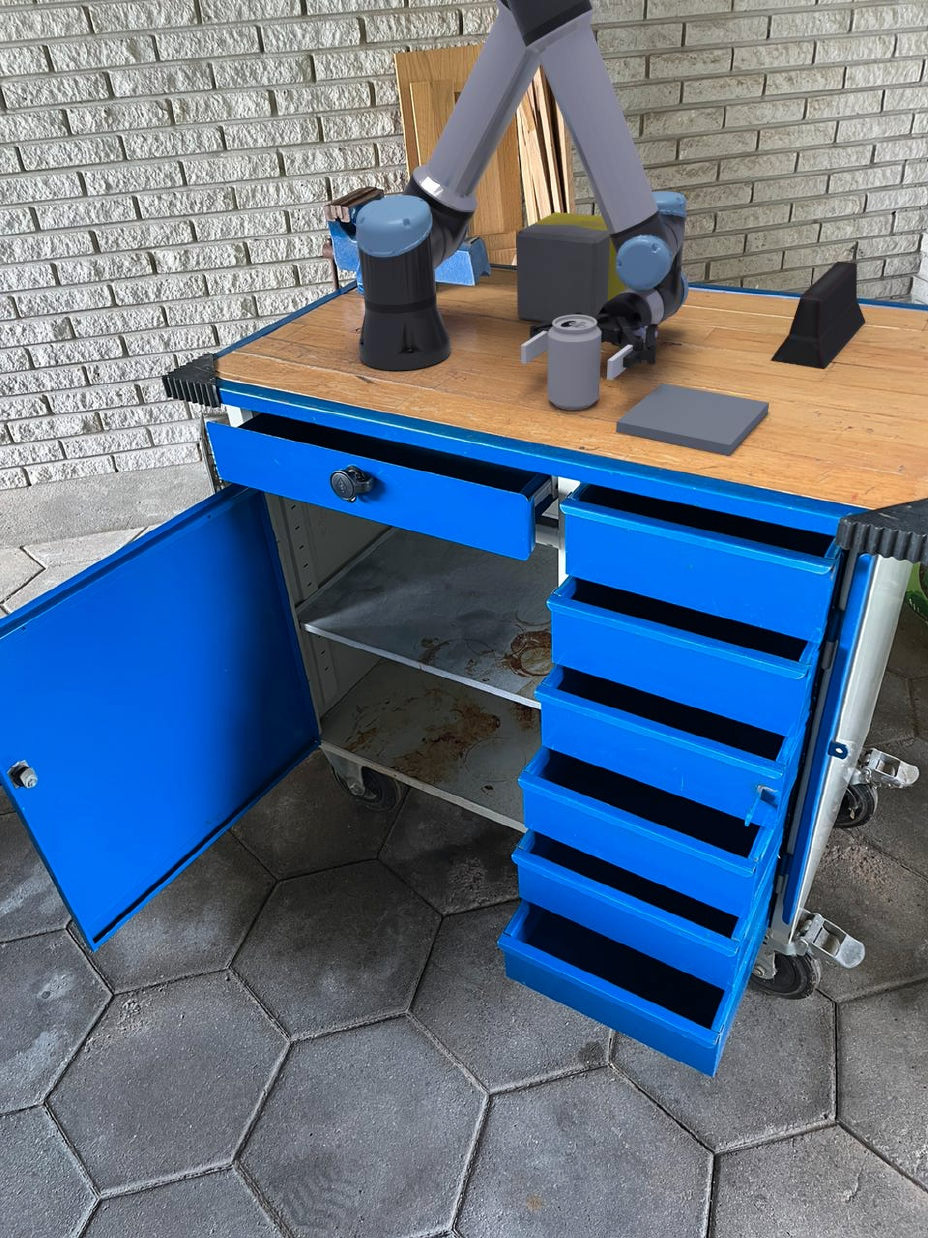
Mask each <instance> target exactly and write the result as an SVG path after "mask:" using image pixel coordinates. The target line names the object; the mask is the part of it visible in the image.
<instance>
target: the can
mask: <svg viewBox="0 0 928 1238" xmlns="http://www.w3.org/2000/svg"><path fill="white" fill-rule="evenodd" d="M552 325H553V327H552V328H551V329H550V330H549V331H548V350H547V398H548V401H550V402H551V403H552V404H553V405H554V406H555V407H556V408H558V409H562V410H566V411H567V410H568V411H576V410H577V411H578V410H584V409H588V408H590V407H591V406H593V404H594V403H595V402H597V401H598V400H599V399H600V389H601V386H600V385H601V384H600V383H601V357H602V356H601V355H602V351H601V350H602V342H601V330H600V329H599V328H598V327H597V326H596V325H597V321H596V319H594V318H593V317H590V316H586V315H566V316H561V317H558V318H556V319H555V320H553V322H552Z"/></svg>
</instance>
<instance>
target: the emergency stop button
mask: <svg viewBox="0 0 928 1238" xmlns="http://www.w3.org/2000/svg"><path fill="white" fill-rule="evenodd" d="M515 240H516V243H515V246H516V247H515V248H516V249H515V250H516V253H515V254H516V288H517V289H516V297H517V301H516V302H517V306H516V307H517V308H516V309H517V316H518V318H520V320H524V321H532V322H538V323H543V322H547V321H551V320H555V319H556V318H558V317H561V316H566V315H572V314H574V313H576V312H581V313H582V315H586V316H590V317H594V316H597V315H598V314H599V312H600V310H601V308H602V307H603V305H604V304H605V303H606V302H608V301H609V300H611V299H612V298H614V297H615V296H617V295H618V294H619V293H620V292H622V291H624V290H625V289H627V288H628V287H627V286H626V285H624V284H623V283H622V281H621V280H620V279H619V277H618V275H617V272H616V255H617V253H616V250H615V248H614V245H613V242H612V240H611V237H610V234H609V232H608V229H607V227H606V224H605V222H604V219H603V217H602V215H593V214H581V213H580V214H579V213H571V212H557V211H555V212H553V213H551V214H549V215H547V216H545V217H544V218H541V219H540V220H538V221H536V222H534V223H532V224H530V225H529V226H527V227H524V228H522V229H521V230H519V231H518V233H517V234H516V235H515Z"/></svg>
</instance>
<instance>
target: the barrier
mask: <svg viewBox="0 0 928 1238" xmlns="http://www.w3.org/2000/svg"><path fill="white" fill-rule="evenodd" d="M857 285H858V263H856V262H847V261H837V262H836V263H834V264H833V265H832V266H831V267H830V268H829V269H828V270H827V271H826V272H824V274H823V275H821V276H820V277H819V278H818V279H817V280H816V281H815V282H814V283H813V284H812V285H811V286H810V287H808V288H807V290H805V291H804V293H802V294H801V295H800V298H799V301H798V304H797V307H796V311H795V313H794V317H793V319H792V323H791V326H790V329H789V332H788V334H787V335H786V338H785V339H784V340H783V341H782V343H781V344H780V346H779V347H778V349H777V350H776V352H775V353H774V354H773V356H772V357H771V359H770V362H776V363H781V362H782V363H784V364H787V363H788V365H794V364H795V365H794V366H800V367H801V366H802V367H806V368H812V369H820V370H825V369H826V368H828V367H829V365H830V364H831V363H832V362H833V361H834V359H835V358H836V357H837V356H838V355H839V354H840V352H842V350H843V349H844V348H845V346H847V344H848V343H849V342H850V340H852V338H853V337H855V335H856V334H857V333H858V332H859V330H860V329H861V328H863V326H864V325H865V324H866V319H865V317H864V313H863V311H862V309H861V306H860V304H859V301H858V298H857V293H858V292H857V290H858V288H857V287H858V286H857Z"/></svg>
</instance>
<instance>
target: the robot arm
mask: <svg viewBox="0 0 928 1238" xmlns="http://www.w3.org/2000/svg"><path fill="white" fill-rule="evenodd" d="M495 1H496V5H497V8H498V15H496V18H495V21H494V23H493V25H492V27H491V29H490V32H489V33H488V36H487V38H486V40H485V42H484V44H483V47H482V48H481V51H480V53H479V55H478V56H477V59H476V60H475V64H474V65H473V67H472V70H471V71H470V73H469V76H468V77H467V80H466V82H465V84H464V87H463V89H462V90H461V93H460V94H459V97H458V99H457V101H456V103H455V105H454V107H453V109H452V112H451V114H450V116H449V118H448V120H447V122H446V124H445V126H444V129H443V131H442V133H441V135H440V137H439V139H438V141H437V143H436V146H435V148H434V149H433V152H432V154H431V155H430V158H429V160H428V163H426V164H422V165H418V166H416V167H415V168H414V169H413V171H412V173H411V175H410V177H409V179H408V182H407V184H406V185H405V189H404V190H403V192H402V195H401V194H400V195H391V196H384V197H382V198H380V199H379V200H377V199H375V200H372V201H370V202H368V203H367V204H365V205H364V206H363V207H361V209H360V210H358V213H357V215H356V220H355V224H356V226H355V227H356V228H355V229H356V232H355V239H356V245H357V250H358V252H357V253H358V259H359V266H360V275H361V285H362V294H363V300H364V316H363V319H362V320H363V321H362V326H361V330H360V337H359V340H358V352H359V353H358V354H359V358H360V361H361V362H362V363H363V364H364V365H365V366H369V367H370V368H374V369H379V370H385V371H407V370H408V371H409V370H416V369H417V370H418V369H423V368H426V367H430V366H433V365H436V364H439V363H440V362H442V361H444V360H445V359H447V358H448V357H449V356H450V355H451V352H452V351H451V339H450V334H449V333H448V332H447V328H446V325H445V323H444V320H443V318H442V314H441V312H440V310H439V307H438V303H437V301H438V300H437V298H438V297H437V286H436V285H437V284H436V271H435V270H437V269H438V267H440V265H442V264H443V263H444V262H445V261H446V260H448V259H450V258H451V257H453V256H454V255H455V254H456V253H457V252H458V251H459V249H461V248H462V245H463V244H464V242H465V240H466V238H467V235H468V232H469V228H470V222H471V220H472V217H473V215H474V214H475V212H476V210H477V207H478V200H477V197H476V193H475V191H476V190H477V188H478V186H479V184H480V182H481V180H482V178H483V176H484V174H485V173H486V170H487V168H488V166H489V165H490V162H491V161H492V160H493V157H494V155H495V153H496V152H497V149H498V146H499V145H500V143H501V141H502V140H503V137H504V135H506V132H507V129H509V126H510V124H511V122H512V120H513V118H514V116H515V115H516V112H517V110H518V109H519V106H520V105H521V103H522V102H523V101H522V100H523V99H524V97H525V95H526V93H527V91H528V89H529V88H530V86H531V84H532V82H533V80H534V77H535V75H536V74H537V71H538V70H539V68H540V66H541V67H542V69H543V72H544V75H545V77H546V79H547V82H548V84H549V87H550V89H551V92H552V94H553V97H554V100H555V101H556V104H557V107H558V110H559V111H560V114H561V118H562V119H563V122H564V124H565V126H566V129H567V131H568V132H567V133H568V134H569V136H570V139H571V142H572V144H573V147H574V149H575V151H576V155H577V156H578V159H579V162H580V164H581V166H582V169H583V172H584V174H585V176H586V178H587V182H588V183H589V187H590V189H591V192H592V195H593V197H594V199H595V201H596V204H597V206H598V209H599V212H600V214H601V216H602V217H603V219H604V222H605V224H606V227H607V229H608V232H609V234H610V237H611V240H612V242H613V245H614V248H615V250H616V253H617V255H616V272H617V275H618V277H619V279H620V280H621V281H622V283H623V284H624V285H626V286H627V289H625V290H624V291H622V292H620V293H619V294H618V295H617V296H615V297H614V298H612V299H611V300H609V301H608V302H606V303H605V304H604V305H603V307H602V308H601V310H600V312H599V314H598V315H597V316H594V317H593V318H594V319H596V321H597V325H596V326H597V327H598V328H599V329H600V330H601V343H609V344H610V345H613V346H614V347H618V348H619V349H620V350H619V351H618V352H616V353H615V354H614V355H613V356H611V357H610V358H609V359H607V371H606V372H607V373H606V380H610V381H613V380H614V379H616V378H617V376H619V375H620V374H621V373H623V372H625V370H626V369H632V368H633V367H634V366H636V365H637V364H639V365H640V364H642V363H643V361H644V362H645V361H646V363H647V364H649V365H654V364H656V362H657V351H658V350H657V349H658V347H657V345H658V343H657V341H658V327H659V325H661V324H662V323H663V322H664V321H666V320H667V319H670V318H671V317H672V316H674V315H675V314H677V312H678V311H679V310H680V309H681V307H682V306H683V305H684V304H685V302H686V301H687V298H688V296H689V283H688V279H687V278H686V276H685V275H686V274H684V272H683V271H682V270H683V269H682V266H683V264H682V261H683V253H684V252H683V251H684V242H685V241H684V239H685V229H686V228H685V227H686V220H687V218H688V217H687V199H686V197H685V196H684V195H683V194H682V193H679V192H675V191H666V190H664V191H663V190H662V191H652V189H651V184H650V183H649V181H648V177H647V175H646V172H645V169H644V166H643V164H642V161H641V159H640V156H639V153H638V151H637V147H636V146H635V142H634V140H633V137H632V135H631V131H630V129H629V126H628V124H627V120H626V118H625V115H624V113H623V110H622V108H621V105H620V102H619V98H618V97H617V94H616V91H615V89H614V86H613V84H612V80H611V78H610V76H609V73H608V69H607V67H606V64H605V62H604V59H603V56H602V54H601V51H600V48H599V45H598V42H597V39H596V38H595V34H594V31H593V30H592V27H591V21H592V19H593V15H594V12H595V11H594V9H593V6H592V2H591V1H590V0H495ZM572 315H582V313H581V312H576V313H574V314H572ZM552 322H553V320H551V321H547V322H539V323H536V324H532V325H530V326H529V338H527V340H526V341H525V342H524V343H522V344H520V345H521V346H520V347H521V349H520V352H521V353H520V355H521V356H520V357H521V359H520V360H521V361H520V363H521V365H522V364H524V365H527V364H529V363H530V362H531V361H533V360H535V359H536V358H538V357H539V356H540V355H542V354H544V353H545V352H546V351H548V331H549V330H550V329H551V328H552V327H553V325H552Z"/></svg>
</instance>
